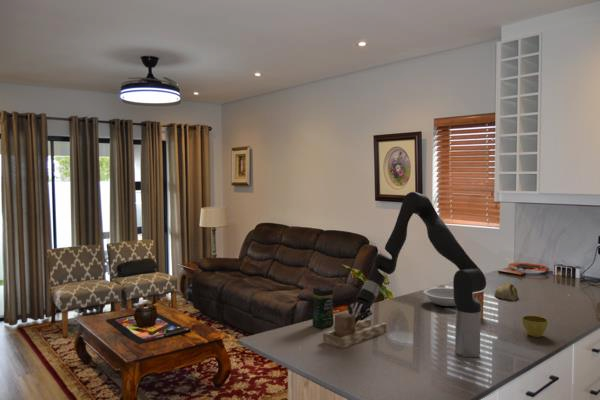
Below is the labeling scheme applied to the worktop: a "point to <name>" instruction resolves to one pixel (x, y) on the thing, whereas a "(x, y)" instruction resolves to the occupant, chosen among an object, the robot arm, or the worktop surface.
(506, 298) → the pastry
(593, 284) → the worktop surface
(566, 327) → the worktop surface
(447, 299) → the soup bowl
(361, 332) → the birch chute
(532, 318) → the flower pot
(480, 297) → the small box
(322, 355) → the worktop surface
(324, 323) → the coffee jar
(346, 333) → the walnut block
